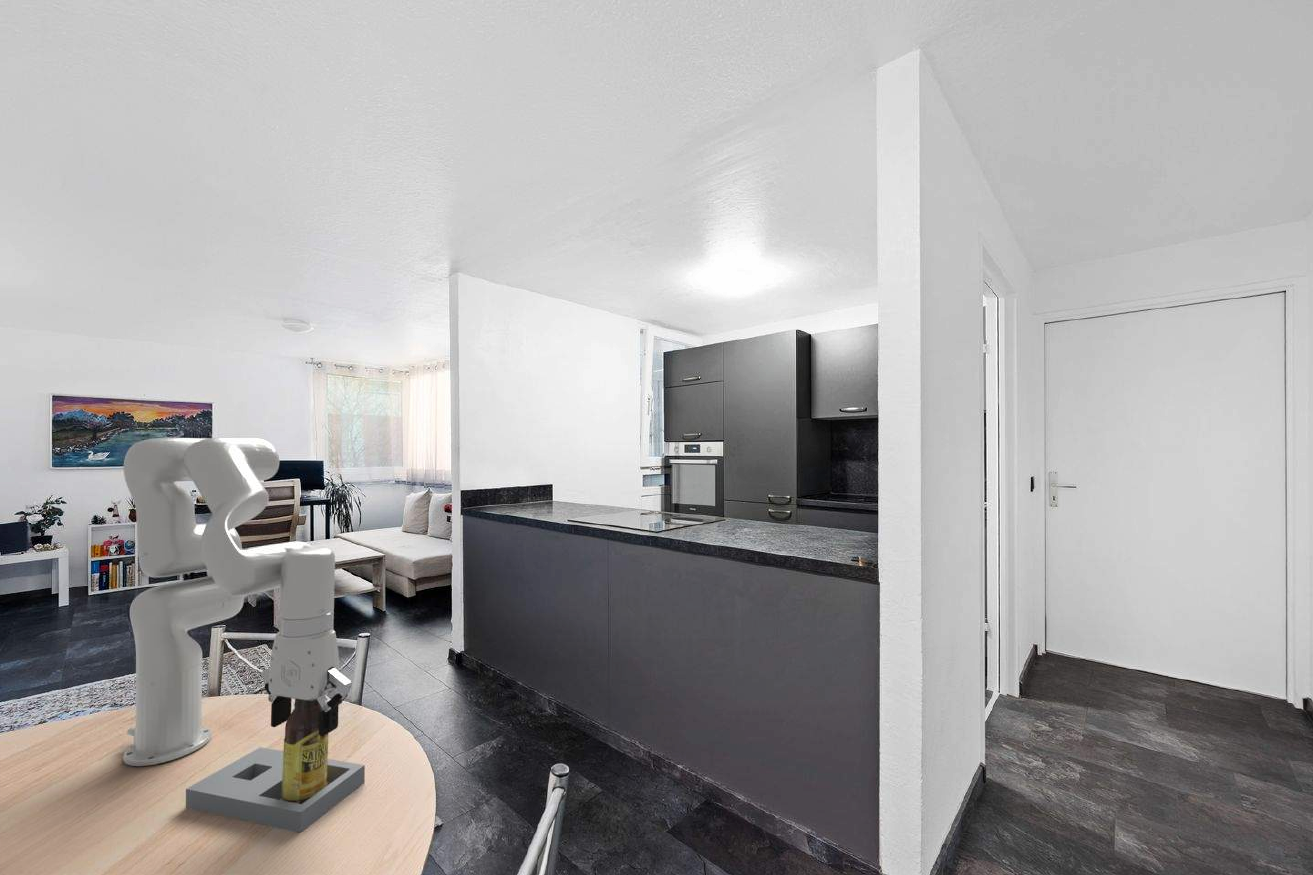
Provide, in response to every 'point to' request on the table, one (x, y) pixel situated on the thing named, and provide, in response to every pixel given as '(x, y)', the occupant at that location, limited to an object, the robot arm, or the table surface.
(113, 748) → the table surface
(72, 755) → the table surface
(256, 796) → the caddy
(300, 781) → the sauce bottle
